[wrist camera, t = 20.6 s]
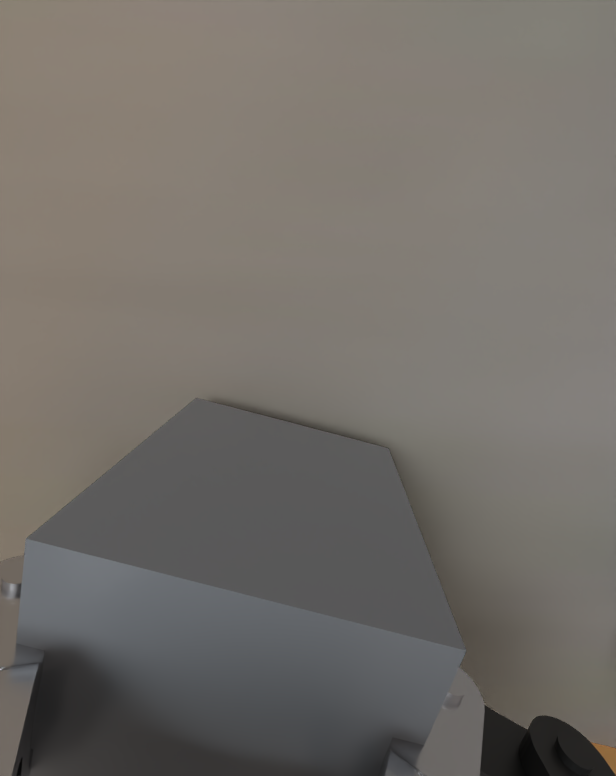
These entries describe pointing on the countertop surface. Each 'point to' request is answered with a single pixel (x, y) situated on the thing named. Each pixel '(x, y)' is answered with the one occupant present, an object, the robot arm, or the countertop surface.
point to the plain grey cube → (235, 608)
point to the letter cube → (607, 755)
